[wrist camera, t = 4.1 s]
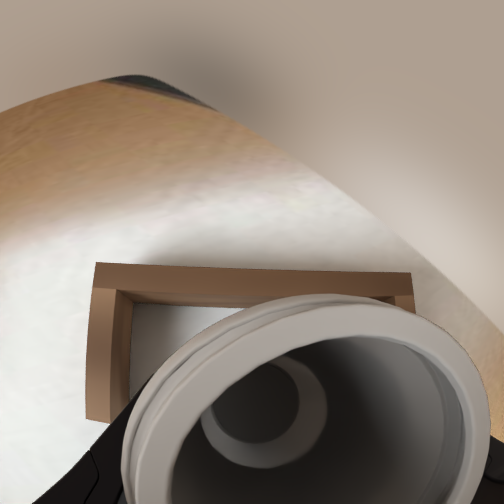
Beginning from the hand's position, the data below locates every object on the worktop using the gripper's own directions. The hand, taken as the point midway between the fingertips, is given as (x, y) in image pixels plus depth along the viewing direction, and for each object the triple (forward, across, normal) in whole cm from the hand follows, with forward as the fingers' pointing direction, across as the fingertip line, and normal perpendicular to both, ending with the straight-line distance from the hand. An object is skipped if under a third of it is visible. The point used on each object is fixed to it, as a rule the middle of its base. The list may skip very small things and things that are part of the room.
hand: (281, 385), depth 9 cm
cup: (+4, 0, +6) cm, 7 cm away
